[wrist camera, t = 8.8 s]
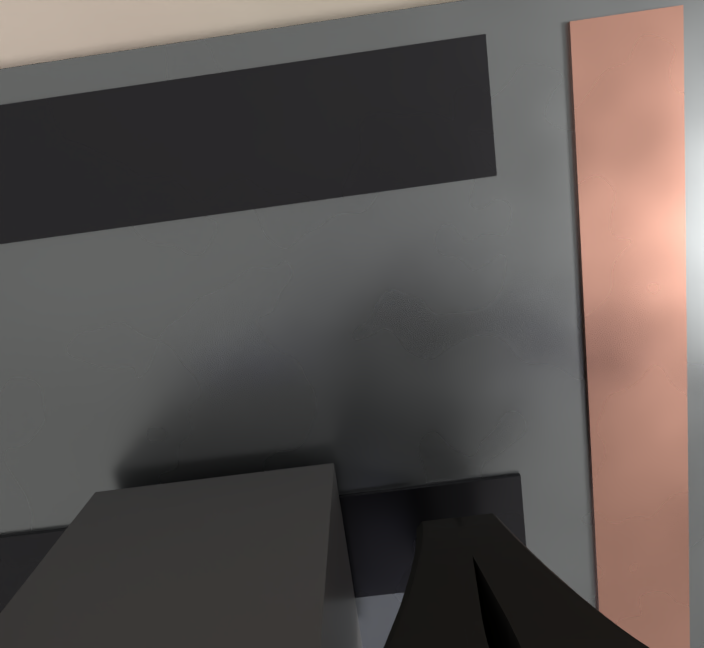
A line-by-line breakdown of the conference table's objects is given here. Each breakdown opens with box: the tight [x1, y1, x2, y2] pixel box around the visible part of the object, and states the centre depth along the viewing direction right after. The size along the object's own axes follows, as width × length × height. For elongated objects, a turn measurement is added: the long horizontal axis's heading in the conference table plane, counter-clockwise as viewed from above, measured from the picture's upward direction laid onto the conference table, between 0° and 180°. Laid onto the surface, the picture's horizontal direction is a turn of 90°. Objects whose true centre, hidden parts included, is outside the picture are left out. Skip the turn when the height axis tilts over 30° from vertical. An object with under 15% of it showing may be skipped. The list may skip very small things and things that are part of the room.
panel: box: [0, 0, 704, 648], centre depth 12 cm, size 18×24×2 cm
